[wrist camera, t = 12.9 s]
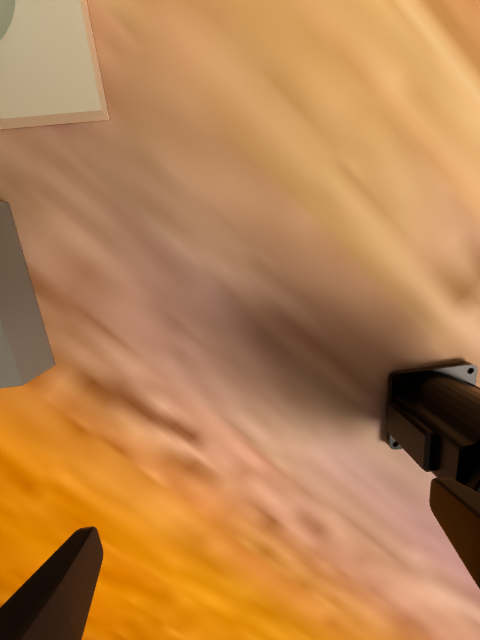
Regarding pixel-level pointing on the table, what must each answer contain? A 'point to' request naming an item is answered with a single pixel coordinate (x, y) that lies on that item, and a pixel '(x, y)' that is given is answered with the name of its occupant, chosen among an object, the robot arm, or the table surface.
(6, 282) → the holder
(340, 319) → the table surface
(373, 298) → the table surface
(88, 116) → the plate
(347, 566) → the table surface
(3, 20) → the grey domed cup
